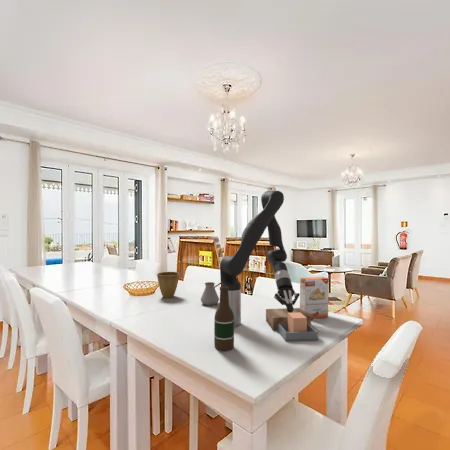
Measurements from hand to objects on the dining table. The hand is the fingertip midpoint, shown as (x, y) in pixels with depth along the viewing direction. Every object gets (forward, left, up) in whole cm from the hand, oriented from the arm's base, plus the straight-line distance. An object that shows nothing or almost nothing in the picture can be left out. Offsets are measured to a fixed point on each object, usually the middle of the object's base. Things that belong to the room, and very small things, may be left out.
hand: (290, 312), depth 134 cm
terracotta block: (0, -3, -3) cm, 5 cm away
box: (0, -8, -8) cm, 11 cm away
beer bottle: (-33, -18, -8) cm, 38 cm away
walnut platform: (0, +5, -8) cm, 9 cm away
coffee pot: (-32, +49, -8) cm, 59 cm away
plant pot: (-64, +67, -8) cm, 93 cm away
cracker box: (+18, +16, -8) cm, 26 cm away
